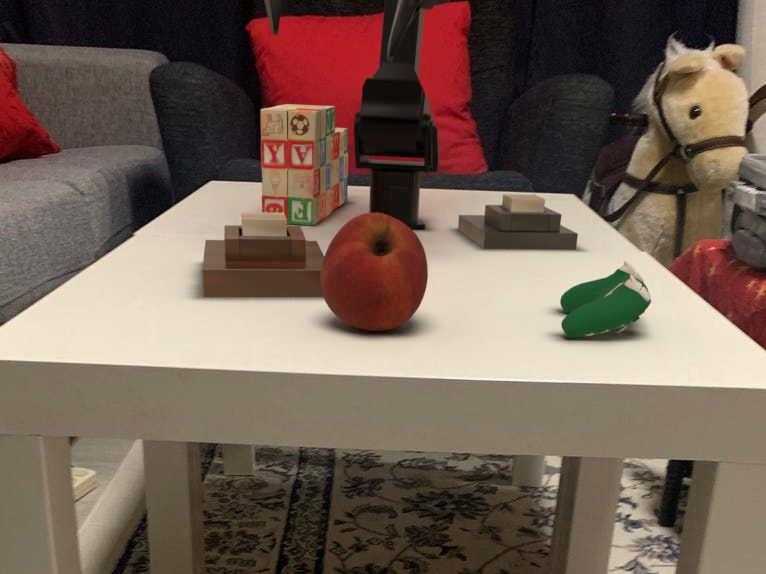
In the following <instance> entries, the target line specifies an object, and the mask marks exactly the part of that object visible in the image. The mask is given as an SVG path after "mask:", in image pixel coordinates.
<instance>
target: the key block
mask: <svg viewBox="0 0 766 574" xmlns="http://www.w3.org/2000/svg"><path fill="white" fill-rule="evenodd" d="M223 235H224V239H205V241H204V250H203V251H204V252H203V259H202V260H203V261H202V269H201V270H202V271H201V273H202V292H203V293H202V294H203V298H324V297H323V294H322V289H321V282H320V278H321V268H322V264H323V260H324V257H325V254H324V253H323V251H322V248H321V247H320V245H319V243H318V241H317V240H307V238H306V236H305V234H304V232H303V229H302V227H301V226H300V225H287V236H242V225H239V224H238V225H236V224H235V225H232V224H231V225H227V224H226V225H224V234H223Z"/></svg>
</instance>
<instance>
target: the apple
mask: <svg viewBox="0 0 766 574" xmlns="http://www.w3.org/2000/svg"><path fill="white" fill-rule="evenodd" d="M428 270H429V267H428V260H427V254H426V252H425V248H424V246H423V243H422V242H421V240H420V238H419V236H418V235H417V233H416V232H415V231H414V230H413V229H412V228H409V227H408V226H407V225H405V224H404V223H403V222H401V221H400V220H398V219H395V218H393V217H391V216H389V215H386V214H383V213H369V212H367V213H361V214H359V215H356V216H355V217H353V218H352V219H350V220H349V221H347V222H346V223H345V224H344V225H343V226H341V228H340V229H339V230H338V231H337V232H336V234H335V235H334V237H333V238H332V240H331V241H330V243H329V244H328V246H327V249H326V251H325V254H324V260H323V264H322V268H321V278H320V282H321V289H322V294H323V297H322V298H323V299H324V301H325V303H326V305H327V307H328V308H329V310H330V311H331V312H332V313H333V314H334V315H335V316H336V317H337V318H338V319H340V320H341V321H343V322H344V323H345V324H347V325H349V326H350V327H352V328H355V329H359V330H361V331H367V332H385V331H391V330H393V329H396V328H398V327H400V326H402V325H403V324H405V323H406V322H407V321H409V319H411V318H412V317H413V316H414V314H415V313H416V312H417V311H418V309H419V307H420V306H421V304H422V302H423V299H424V297H425V294H426V290H427V285H428V277H429V271H428Z"/></svg>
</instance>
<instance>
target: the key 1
mask: <svg viewBox="0 0 766 574" xmlns="http://www.w3.org/2000/svg"><path fill="white" fill-rule="evenodd" d="M240 214H241V226H242V236H287V226H288V224H287V219H286V217H285V214H284V213H264V212H262V211H260V212H257V211H256V212H255V211H253V212H252V211H251V212H250V211H248V212H247V211H243V212H241V213H240Z"/></svg>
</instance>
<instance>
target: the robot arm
mask: <svg viewBox="0 0 766 574" xmlns="http://www.w3.org/2000/svg"><path fill="white" fill-rule="evenodd" d="M263 1H264V5H265V6H264V7H265V10H266V14H267V18H268V22H269V26H270V30H271V34H272V35H273V36H278V33H279V29H280V28H279V27H280V21H281V13H282V0H263ZM450 1H451V0H384V5H383V16H382V29H381V40H380V42H381V43H380V54H379V64H378V68H377V70H376V71H375V72H374V74H373V76H372V77H367V78H365V81H364V82H363V84H362V88H361V89H362V90H361V101H360V108H359V110H357V111H356V112H355V116H354V120H353V121H354V122H353V139H354V160H355V161H354V162H355V169H356V170H362V169H368V170H370V175H369V177H370V178H369V211H368V213H383V214H386V215H389V216H391V217H393V218H395V219H398V220H400V221H401V222H403V223H404V224H405V225H407V226H408V227H409V228H410V229H426V228H427V227H426V226H427V225H426V222H424V221H423V220H422V219H420V218H419V214H420V211H419V210H420V195H421V194H420V193H421V192H420V191H421V189H420V188H421V172H422V173H424V174H430V173H437V172H438V171H439V163H440V161H439V160H440V149H439V148H440V147H439V146H440V145H439V143H440V142H439V129H438V127H437V125H435V121H434V114H433V113H430V110H431V104H430V102H429V100H428V97H427V95H426V91H425V89H424V87H423V85H422V83H421V81H420V78H419V74H420V65H421V64H420V62H421V54H422V53H421V52H422V41H423V31H424V29H423V28H424V19H425V18H424V17H425V10H426V11H427V10H428V11H429V10H433V8H434V7H435V5H436V4H438V5H444V4H448V3H450ZM370 157H389V158H404V159H405V158H406V159H407V158H408V159H423V161H409V160H408V161H405V160H390V159H389V160H388V159H387V160H386V159H370ZM438 173H439V172H438Z"/></svg>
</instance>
